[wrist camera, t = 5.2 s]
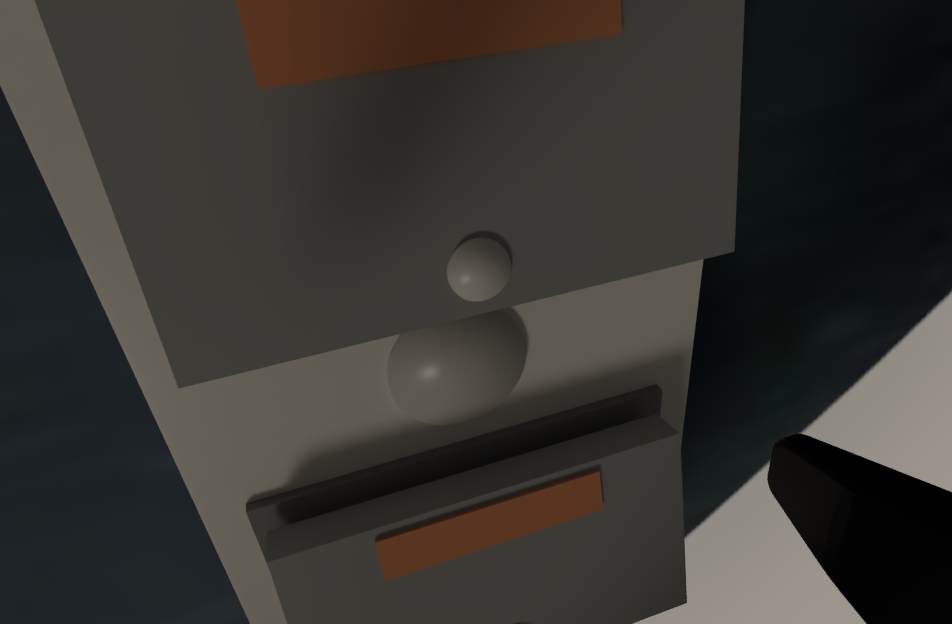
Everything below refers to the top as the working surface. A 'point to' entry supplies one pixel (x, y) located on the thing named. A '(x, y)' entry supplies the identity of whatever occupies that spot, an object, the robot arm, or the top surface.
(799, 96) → the top surface
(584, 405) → the double rocker switch panel
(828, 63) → the top surface
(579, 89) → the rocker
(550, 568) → the dark grey rectangular block
